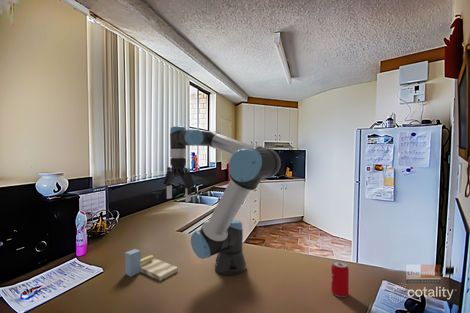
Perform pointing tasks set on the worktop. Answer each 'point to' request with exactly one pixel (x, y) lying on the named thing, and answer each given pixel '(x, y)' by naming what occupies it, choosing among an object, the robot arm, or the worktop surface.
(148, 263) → the board
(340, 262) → the beverage can
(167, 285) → the worktop surface
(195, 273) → the worktop surface
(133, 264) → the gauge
